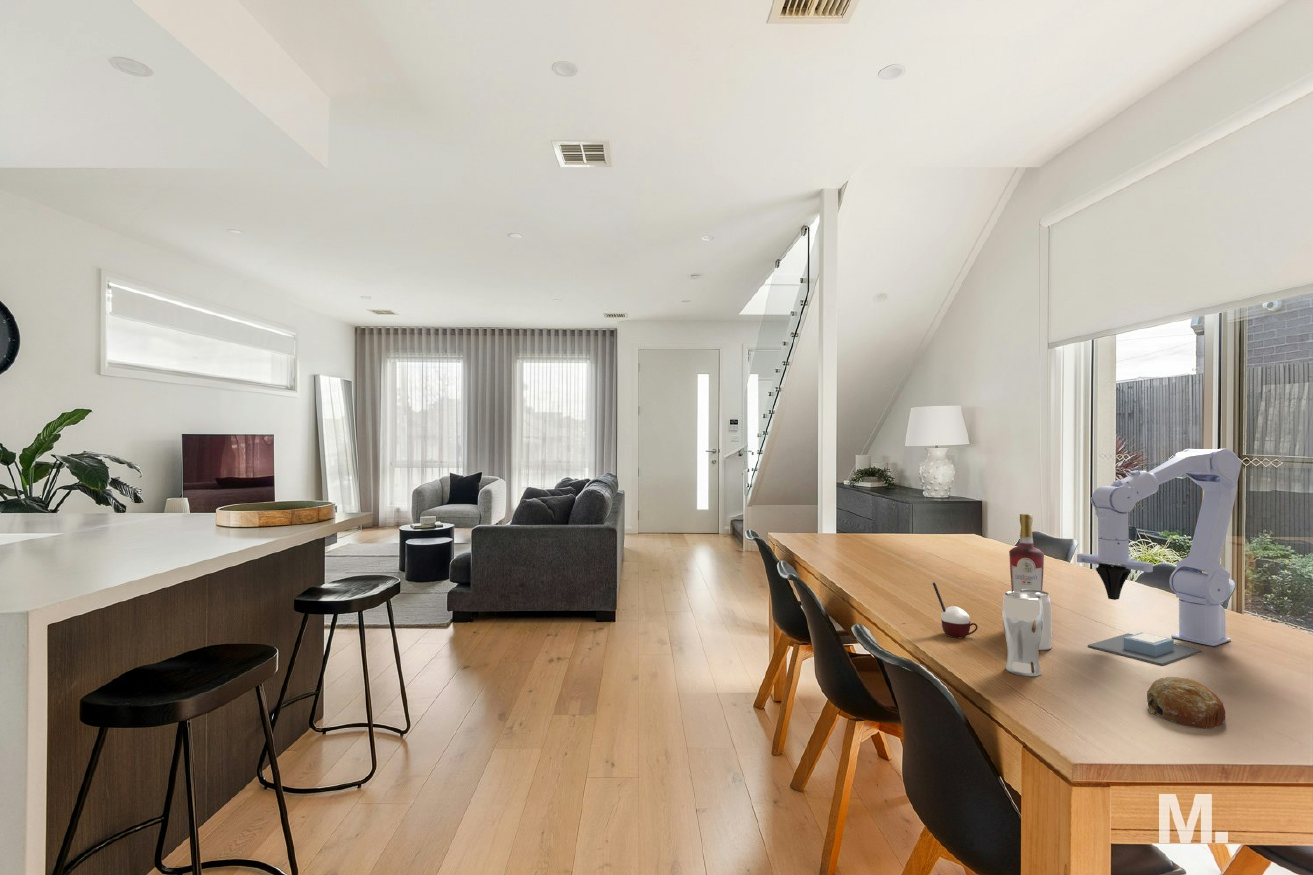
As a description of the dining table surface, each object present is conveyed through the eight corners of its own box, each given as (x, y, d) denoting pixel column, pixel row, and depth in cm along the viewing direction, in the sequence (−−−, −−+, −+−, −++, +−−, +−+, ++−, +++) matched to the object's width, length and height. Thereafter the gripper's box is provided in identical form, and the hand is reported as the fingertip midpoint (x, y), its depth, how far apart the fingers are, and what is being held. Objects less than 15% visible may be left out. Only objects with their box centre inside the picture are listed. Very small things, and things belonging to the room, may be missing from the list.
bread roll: (1141, 725, 109) (1123, 683, 109) (1191, 698, 110) (1172, 656, 110) (1195, 752, 99) (1174, 707, 99) (1249, 722, 100) (1228, 677, 100)
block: (1141, 631, 142) (1173, 638, 137) (1141, 643, 142) (1173, 650, 137) (1123, 636, 138) (1155, 644, 133) (1123, 648, 138) (1156, 656, 133)
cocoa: (979, 638, 148) (982, 587, 148) (967, 643, 144) (970, 590, 144) (939, 628, 155) (941, 579, 155) (927, 632, 151) (929, 581, 151)
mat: (1128, 634, 150) (1128, 633, 150) (1201, 651, 137) (1201, 649, 137) (1087, 646, 141) (1087, 644, 141) (1162, 665, 128) (1162, 663, 129)
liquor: (1045, 628, 154) (1044, 513, 155) (1044, 636, 148) (1043, 516, 149) (1010, 624, 158) (1009, 512, 159) (1008, 631, 152) (1007, 514, 153)
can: (1056, 651, 137) (1055, 596, 137) (1023, 649, 138) (1023, 594, 139) (1044, 642, 143) (1044, 589, 144) (1013, 640, 145) (1012, 588, 145)
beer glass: (1038, 667, 127) (1038, 592, 128) (1047, 679, 121) (1047, 600, 121) (999, 663, 130) (999, 590, 130) (1006, 675, 123) (1006, 597, 123)
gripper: (1069, 536, 148) (1070, 594, 148) (1141, 544, 136) (1142, 607, 136) (1085, 534, 152) (1086, 590, 152) (1157, 541, 139) (1157, 603, 139)
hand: (1113, 598), depth 144 cm, fingers closed
